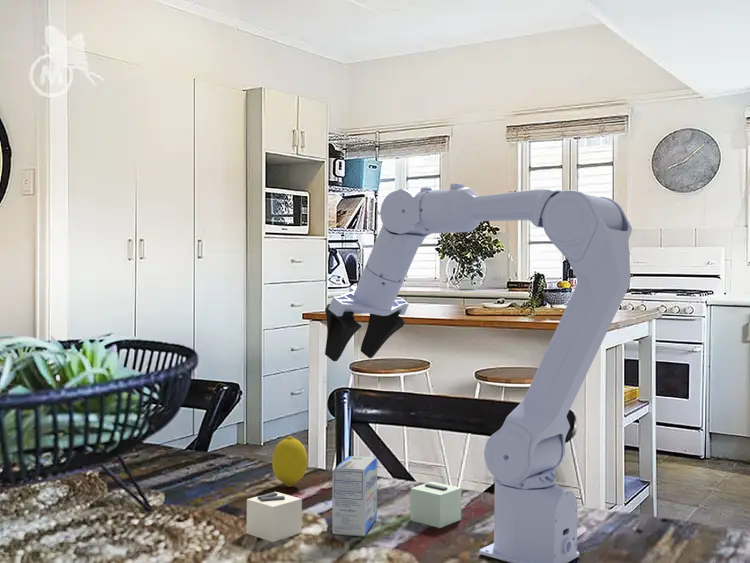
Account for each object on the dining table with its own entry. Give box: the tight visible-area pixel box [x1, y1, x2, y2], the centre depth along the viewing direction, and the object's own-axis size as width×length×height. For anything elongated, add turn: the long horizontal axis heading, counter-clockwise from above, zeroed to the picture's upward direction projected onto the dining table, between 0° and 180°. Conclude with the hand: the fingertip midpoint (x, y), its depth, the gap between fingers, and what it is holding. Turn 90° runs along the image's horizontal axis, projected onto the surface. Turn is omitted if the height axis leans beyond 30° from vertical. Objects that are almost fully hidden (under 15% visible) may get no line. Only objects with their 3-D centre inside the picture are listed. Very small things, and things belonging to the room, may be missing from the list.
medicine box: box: [331, 455, 378, 538], centre depth 105 cm, size 8×4×9 cm, turn 168°
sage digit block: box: [409, 481, 462, 529], centre depth 109 cm, size 5×5×5 cm
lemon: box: [271, 435, 308, 487], centre depth 125 cm, size 6×6×8 cm
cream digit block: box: [245, 491, 303, 543], centre depth 102 cm, size 5×5×5 cm
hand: (348, 356), depth 113 cm, fingers open, 7 cm apart
